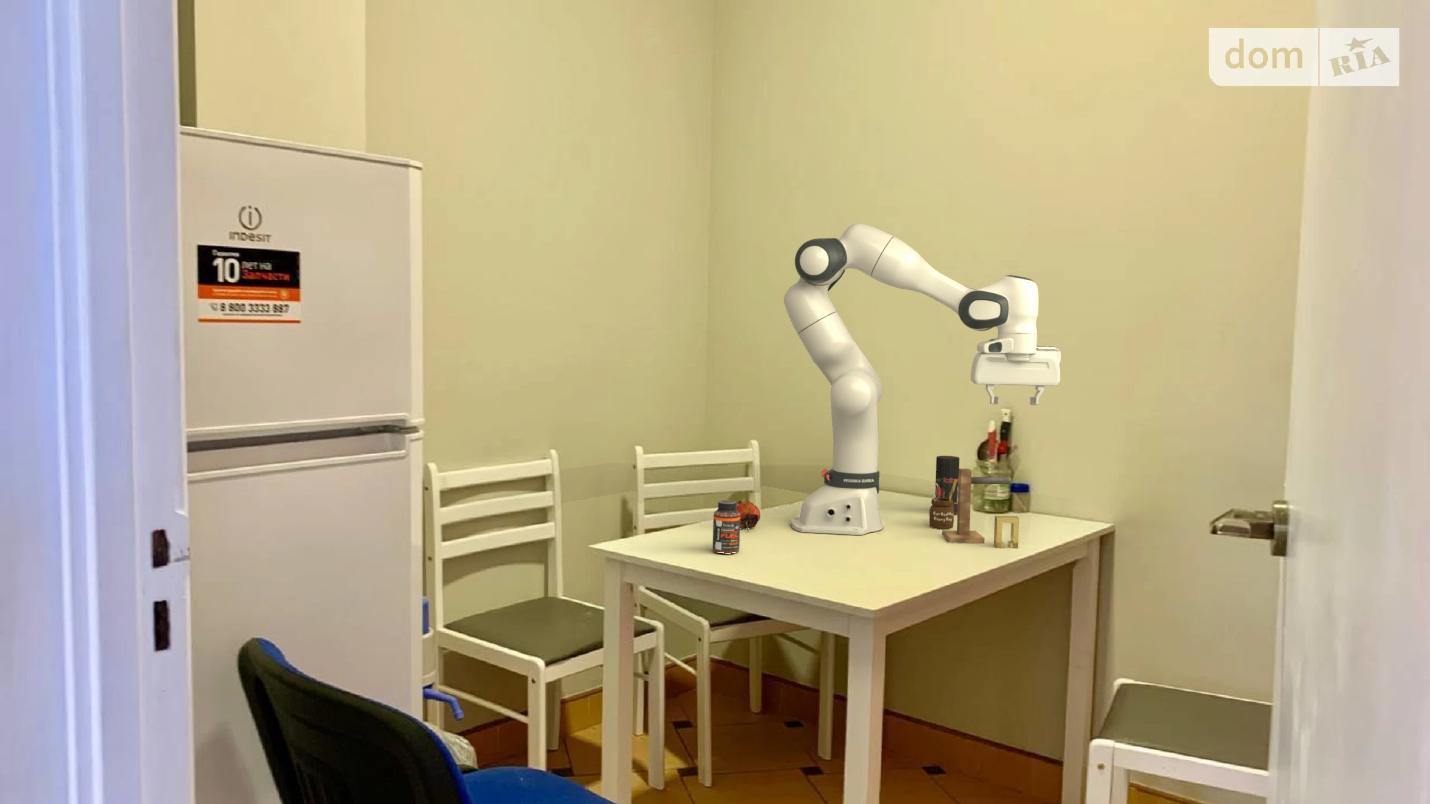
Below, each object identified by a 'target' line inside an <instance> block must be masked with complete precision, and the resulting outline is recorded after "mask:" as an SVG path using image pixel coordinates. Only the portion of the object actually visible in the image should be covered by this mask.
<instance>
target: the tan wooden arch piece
mask: <svg viewBox="0 0 1430 804" xmlns="http://www.w3.org/2000/svg"><path fill="white" fill-rule="evenodd" d="M1003 524H1010V540H1007V547H1008V548H1009V549H1019V535H1020V533H1019V532H1020V517H1019V516H1018V515H994V524H993V525H994V526H993V527H994V528H993V529H994V530H993V531H994V532H993V547H994V548H995V549H1005V542H1004V541H1002V540H1003Z"/></svg>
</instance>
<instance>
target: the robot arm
mask: <svg viewBox="0 0 1430 804" xmlns="http://www.w3.org/2000/svg"><path fill="white" fill-rule="evenodd" d="M841 234H842V235H841V236H840V238H837V237H828V238H827V237H826V238H823V237H822V238H813V239H810V240H807V241H805V242H804V243H803V244H801V245H800V247H799V248H798V249H797V251H796V253H795V257H794V266H795V270H796V272H797V275H798V276H799V279H798V280H797V282H796V283H794V284H792V285H791V286H790V287H789V288H788V289H787V290H786V291H785V293H784V296H783V304H784V307H785V310H786V312H787V316H788V318H789V320H790V323H791V325H792V327H793V328H794V330H795V332H796V334H797V335H798V337H799V340H800V341H801V343H802V344H803V346H804V347H805V349H806V351H807V353H808V355H809V357H810V358H811V360H812V361H813V363H814V364H815V366H817V368H818V369H819V371H820V372H821V373H822V374H823V376H824V377H825V378H826V379H827V381H828V382H829V384H830V385H831V388H830V409H831V412H830V413H831V424H832V426H831V427H832V439H833V443H832V468H831V469H830V470H828V469H827V468H822V470H820V474H821V477H822V478H823V481H824V482H823V483H824V484H823V485H822V486H821V487H819V488H817V489H816V490H815V491H813V492H812V493H811V494H809V495H808V496H807V497H805V498H804V500H803V502H802V504H801V507H800V513H799V516H796V517H793V518H792V519H791V520H790V521H791V522H790V526H791V527H792V529H793V530H795V531H798V532H801V533H812V534H813V533H815V534H817V533H818V534H835V535H852V536H853V535H854V536H855V535H857V536H862V535H866V534H868V533H872V532H878V531H881V530H883V529H884V526H883V522H882V517H881V512H880V510H881V509H880V503H879V493H880V490H881V486H880V485H881V475H880V474H881V473H880V471H879V443H880V442H879V440H880V439H879V429H878V404H879V403H880V402H881V399H882V397H883V392H884V391H883V389H884V387H883V383H882V381H881V379H880V377H879V376H878V374H877V372H876V371H875V369H874V367H873V366H872V365H871V363H870V362H869V360H868V359H867V357H866V356H865V354H864V353H863V351H862V350H861V348H860V347H859V346H858V344H857V343H856V341H855V340H854V338H853V337H852V335H851V333H850V332H849V330H848V328H847V326H846V325H845V323H844V321H843V320H842V318H841V316H840V314H839V313H838V311H837V309H836V308H835V306H834V304H833V302H832V301H831V299H830V296H829V291H830V290H831V289H832V288H833V287H834V286H835V285H836V284H837V283H838V281H840V279H841V278H842V277H843V275H844V274H845V271H846V270H848V269H854V270H857V271H858V272H862V273H863V274H865V275H866V276H868V277H870V278H872V279H874V280H876V281H878V282H880V283H883V284H884V285H888V286H890V287H893V288H897V289H899V290H900V289H901V290H908V291H911V292H912V291H913V292H916V293H920V294H923V295H925V296H927V297H930V299H931V298H932V299H933V300H935V301H937V302H938V303H940V304H942V305H944V306H946V307H948V308H949V309H951V310H952V311H953V312H955V313H956V314H957V315H958V317H959V319H960V321H961V322H962V324H963V325H965V326H966V327H967V328H968V329H971V330H974V331H978V332H986V331H989V330H991V329H993V328H996V329H997V337H995V338H992V339H988V340H984V341H981V342H978V343H977V344H976V350H977V352H978V353H976V354H975V355H974V357H973V360H972V364H971V371H970V381H971V382H972V383H973V384H974V385H985V390H986V393H987V394H988V396H989V404H990V405H998V404H999V396H996V395H994V392H993V390H994V389H995V386H997V385H998V386H1000V385H1001V386H1033V387H1034V386H1035V388H1034V389H1035V390H1036V392H1035V394H1034V395H1033V396H1030V397H1029V400H1030V401H1029V406H1030V405H1031V406H1038V405H1039V401H1040V398H1041V396H1042V395H1043V393H1044V392H1045V387H1057V386H1058V385H1059V384H1060V382H1061V368H1060V363H1061V361H1062V353H1061V350H1059V348H1056V347H1055V346H1052V345H1051V346H1050V345H1049V346H1044V345H1037V344H1038V329H1037V319H1038V316H1039V300H1040V299H1039V297H1040V296H1039V288H1038V285H1037V283H1036V282H1035V281H1034V280H1032V279H1031V278H1028V277H1024V276H1020V275H1014V274H1007V275H1004V276H1003V277H1002V278H1000V279H999V280H997V281H994V282H993V283H991V284H988V285H985V286H983V287H980V288H970V287H968V286H966V285H963V284H961V283H959V282H958V281H956V280H953V279H952V278H950V277H949V276H946V275H945V274H942V273H941V272H939V271H938V270H936V269H935V268H934V267H932V266H931V265H930V264H929V263H928V262H927V261H926V260H925V258H923V256H922V255H921V254H920V253H919V252H918V251H916V250H915V249H914V248H913V247H911V246H910V245H909V244H908V243H906V242H905V241H903V240H901V239H900V238H899V237H897V236H895V235H892V234H890V233H889V232H886V231H884V230H881V229H880V228H877V227H874V226H872V225H868V224H865V223H861V222H856V223H852V224H851V225H850V226H848V227H847V228H846V229H845V231H843V233H841Z"/></svg>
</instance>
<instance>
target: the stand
mask: <svg viewBox="0 0 1430 804" xmlns="http://www.w3.org/2000/svg"><path fill="white" fill-rule="evenodd" d="M972 472H973V470H972V469H971V468H959V482H958V510H957V515H956V516H957V517H956V518H957V519H956V530H955V529H954V530H953V529H952V530H951V529H941V530H942V531H941V536H942V535H943V536H944V537H945V538H946V539H947V540H948V541H949V542H961V543H960V544H985V537H983V536H982V534H980V533H979V532H978V531H977V530H971V529H970V528H971V501H972V500H971V499H972V498H971V497H972V495H971V494H972V485H1011V484H1012V478H1011V477H1005V476H1004V477H1002V476H1001V477H1000V476H995V477H994V476H991V477H990V476H972V475H973V474H972ZM943 536H942V537H943ZM944 537H943V538H944ZM945 538H944V539H945ZM946 539H945V540H946ZM947 540H946V541H947ZM948 541H947V542H948ZM949 542H948V543H949Z"/></svg>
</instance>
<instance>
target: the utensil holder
mask: <svg viewBox="0 0 1430 804" xmlns="http://www.w3.org/2000/svg"><path fill="white" fill-rule="evenodd" d="M956 482H957V480H956V479H955V480H954V483H953V486H952V489H951V495H950V498H935V497H936V496H935V494H931V497H932V498H931V505H930V508H929V514H928V515H929V516H928V517H929V519H928V523H929V527H930V528H931V529H935V528H937V529H936V530H951V529H953V528H954V521H955V516H954V509H953V507H952V505H953V500H952V499H951V497H952V494H953V492H954V489H955V485H956ZM935 484H936V485H937V483H936V482H934V483H932V484H931V485H930V489H929V490H930V493H935V490H934V488H932V487H934V485H935ZM937 488H938V487H937ZM933 490H934V491H933ZM936 493H937V492H936ZM939 493H940V492H939ZM939 497H940V495H939ZM950 528H951V529H950Z"/></svg>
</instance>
